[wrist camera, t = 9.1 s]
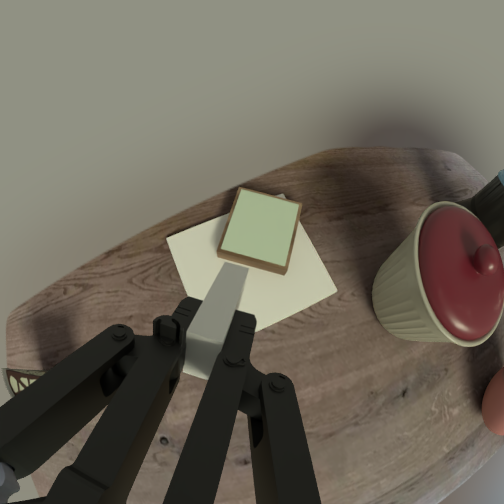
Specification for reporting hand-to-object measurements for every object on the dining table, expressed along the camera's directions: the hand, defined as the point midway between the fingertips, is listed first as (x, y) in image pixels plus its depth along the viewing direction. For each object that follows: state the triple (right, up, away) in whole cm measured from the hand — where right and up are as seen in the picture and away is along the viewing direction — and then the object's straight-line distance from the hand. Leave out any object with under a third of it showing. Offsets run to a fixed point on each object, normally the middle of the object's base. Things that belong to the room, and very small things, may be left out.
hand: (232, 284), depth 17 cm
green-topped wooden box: (+1, 0, +21) cm, 21 cm away
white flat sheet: (+1, 0, +23) cm, 23 cm away
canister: (+26, -6, +23) cm, 35 cm away
